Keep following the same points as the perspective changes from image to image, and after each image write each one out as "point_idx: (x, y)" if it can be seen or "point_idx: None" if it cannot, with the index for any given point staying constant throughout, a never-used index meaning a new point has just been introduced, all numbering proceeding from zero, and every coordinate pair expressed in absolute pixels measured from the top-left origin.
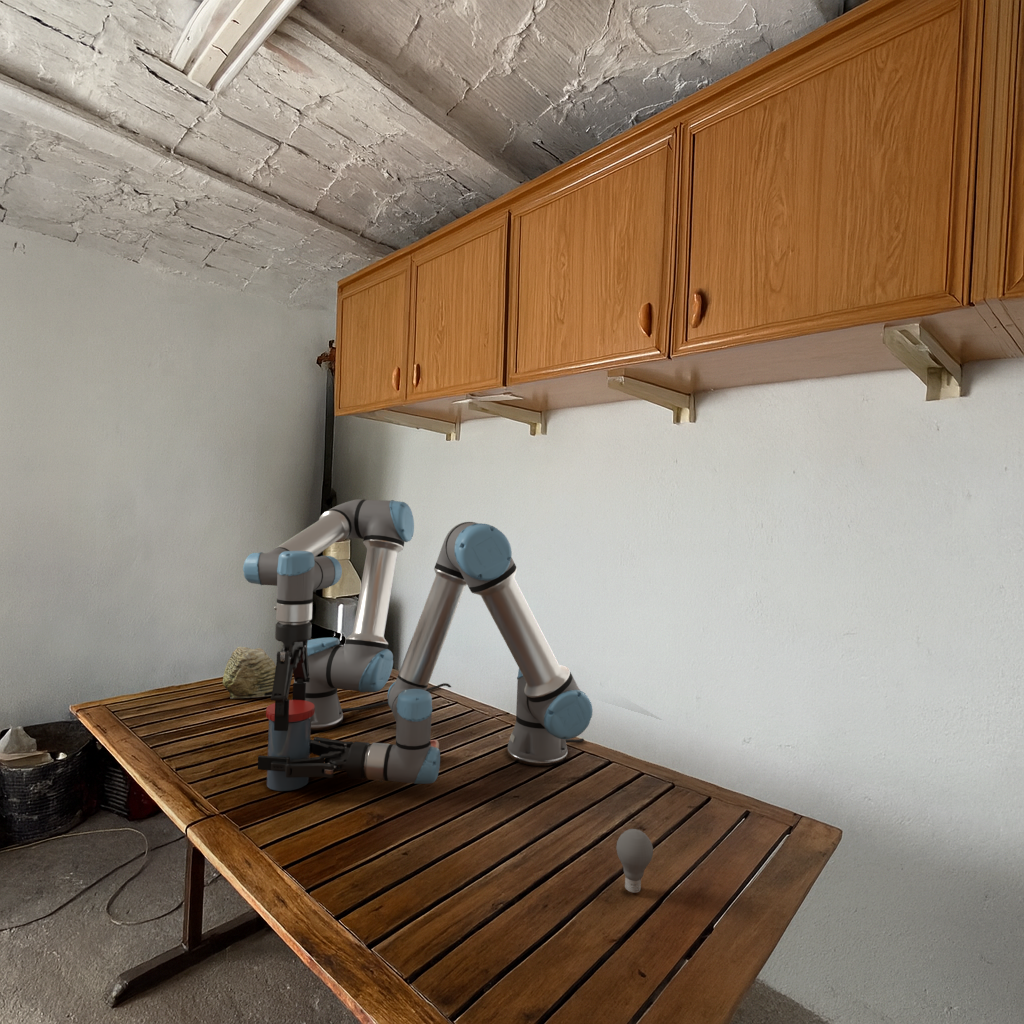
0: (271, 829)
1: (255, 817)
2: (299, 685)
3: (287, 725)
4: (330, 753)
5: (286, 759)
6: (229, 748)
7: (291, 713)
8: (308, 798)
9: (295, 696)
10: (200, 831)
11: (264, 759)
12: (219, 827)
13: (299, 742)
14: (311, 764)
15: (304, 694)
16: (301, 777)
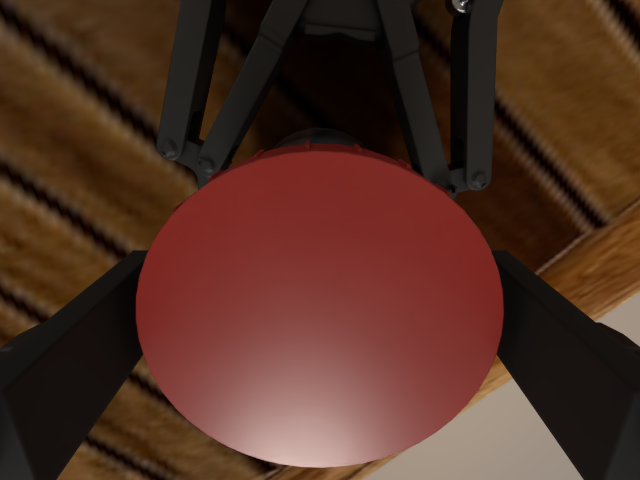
0: (619, 144)
1: (541, 211)
2: (34, 427)
3: (517, 264)
4: (382, 5)
5: None
6: (123, 415)
7: (475, 289)
8: (433, 91)
9: (112, 372)
10: (592, 310)
11: None
12: (580, 277)
13: None
14: (480, 78)
15: (85, 316)
16: (361, 143)
